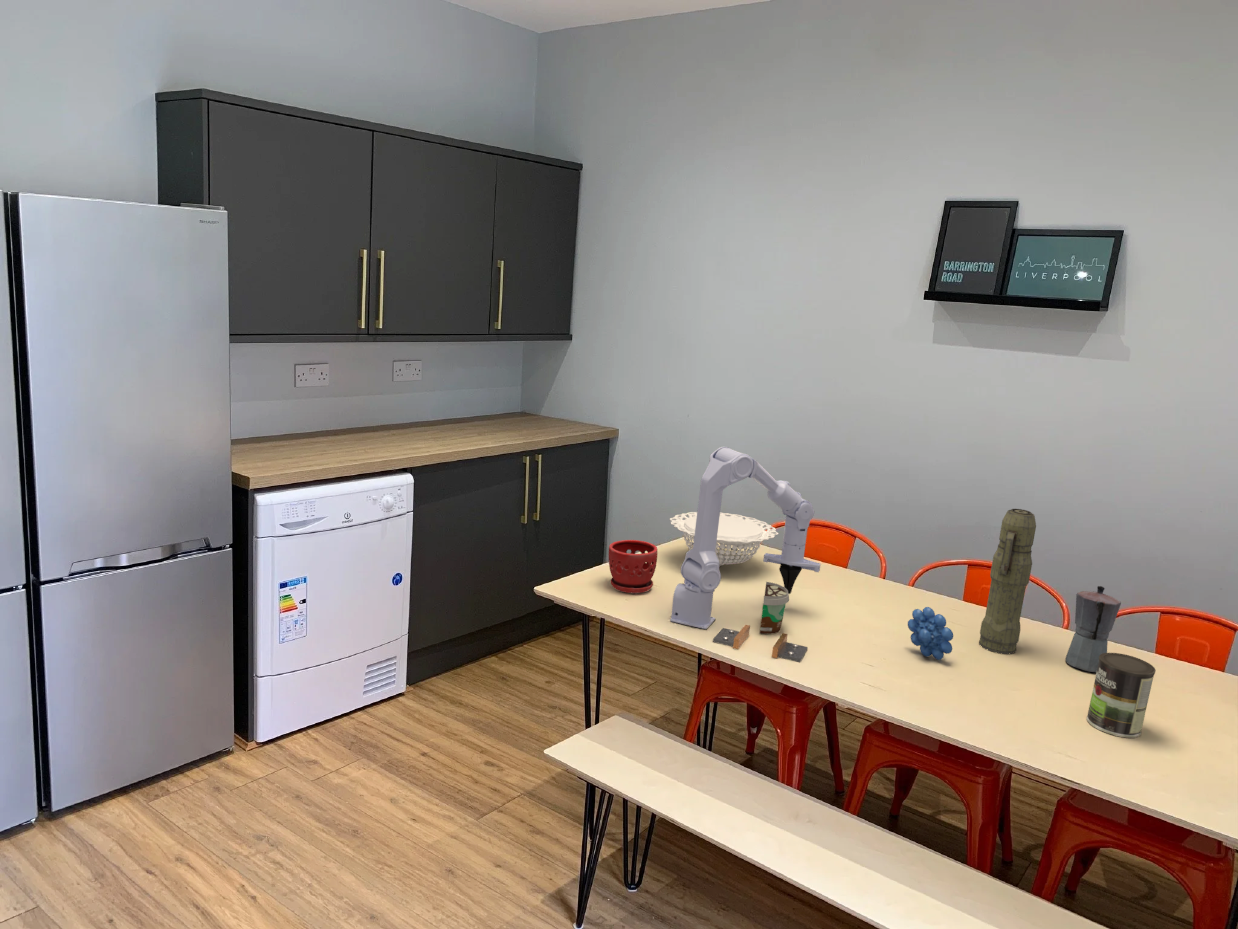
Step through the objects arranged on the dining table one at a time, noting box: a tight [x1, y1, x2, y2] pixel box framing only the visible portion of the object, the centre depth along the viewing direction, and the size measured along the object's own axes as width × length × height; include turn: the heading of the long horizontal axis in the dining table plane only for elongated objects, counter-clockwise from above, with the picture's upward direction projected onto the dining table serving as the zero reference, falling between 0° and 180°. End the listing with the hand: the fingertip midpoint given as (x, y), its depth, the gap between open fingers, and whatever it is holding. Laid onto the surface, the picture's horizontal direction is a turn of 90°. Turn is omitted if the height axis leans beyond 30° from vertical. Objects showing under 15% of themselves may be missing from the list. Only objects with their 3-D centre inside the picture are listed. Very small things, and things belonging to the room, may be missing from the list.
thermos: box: [978, 508, 1037, 655], centre depth 225 cm, size 9×12×35 cm
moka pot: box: [1064, 585, 1122, 673], centre depth 219 cm, size 10×15×20 cm, turn 161°
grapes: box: [907, 606, 954, 661], centre depth 217 cm, size 12×7×12 cm, turn 45°
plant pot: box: [608, 539, 658, 595], centre depth 248 cm, size 13×13×12 cm
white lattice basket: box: [669, 511, 779, 567], centre depth 273 cm, size 32×32×13 cm
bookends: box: [712, 624, 809, 663], centre depth 217 cm, size 21×10×2 cm, turn 67°
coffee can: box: [1086, 652, 1156, 739], centre depth 189 cm, size 10×10×14 cm
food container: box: [759, 581, 790, 635], centre depth 228 cm, size 12×6×10 cm, turn 168°
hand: (788, 592), depth 241 cm, fingers closed
